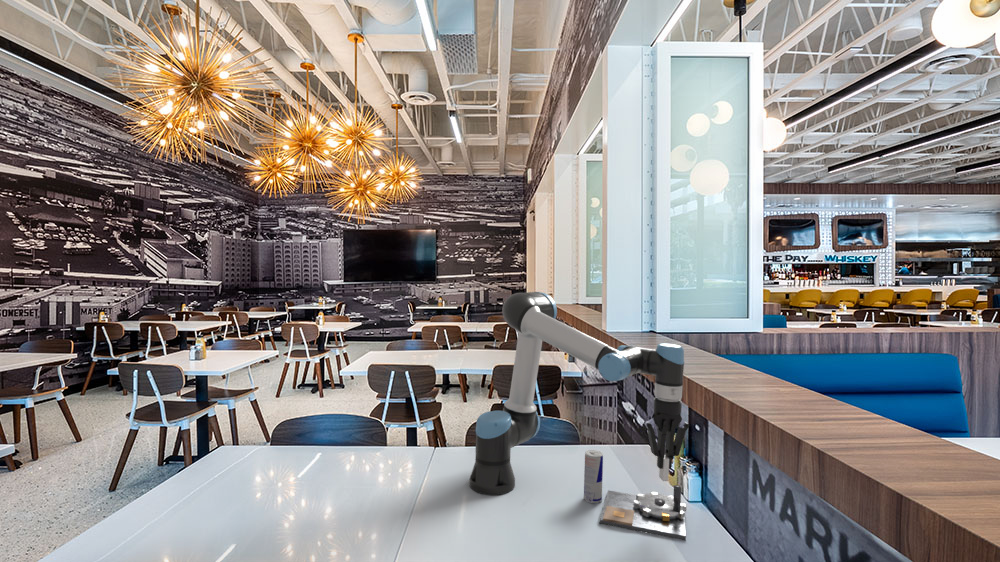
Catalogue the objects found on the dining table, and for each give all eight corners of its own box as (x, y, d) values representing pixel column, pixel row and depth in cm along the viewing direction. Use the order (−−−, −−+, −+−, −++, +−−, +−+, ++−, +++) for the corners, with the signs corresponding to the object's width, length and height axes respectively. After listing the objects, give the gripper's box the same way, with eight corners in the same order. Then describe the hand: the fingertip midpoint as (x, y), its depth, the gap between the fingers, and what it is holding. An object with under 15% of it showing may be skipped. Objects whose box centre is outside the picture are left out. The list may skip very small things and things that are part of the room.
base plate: (599, 523, 139) (599, 519, 139) (607, 493, 158) (608, 490, 158) (685, 540, 131) (685, 536, 131) (683, 506, 150) (683, 503, 150)
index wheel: (668, 526, 135) (669, 496, 135) (623, 506, 147) (624, 478, 146) (696, 510, 145) (697, 482, 145) (651, 492, 156) (652, 465, 156)
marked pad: (603, 520, 138) (603, 517, 138) (606, 507, 146) (606, 505, 146) (632, 525, 136) (632, 523, 136) (634, 512, 143) (634, 510, 143)
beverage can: (601, 505, 150) (603, 456, 150) (583, 502, 151) (584, 455, 151) (601, 496, 155) (603, 450, 155) (584, 494, 157) (585, 448, 156)
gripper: (651, 401, 135) (647, 485, 136) (696, 402, 137) (691, 484, 138) (641, 394, 143) (636, 473, 144) (683, 395, 144) (679, 473, 145)
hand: (663, 479), depth 141 cm, fingers closed
